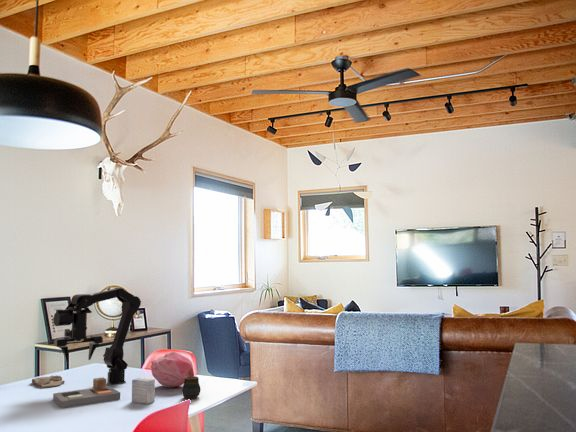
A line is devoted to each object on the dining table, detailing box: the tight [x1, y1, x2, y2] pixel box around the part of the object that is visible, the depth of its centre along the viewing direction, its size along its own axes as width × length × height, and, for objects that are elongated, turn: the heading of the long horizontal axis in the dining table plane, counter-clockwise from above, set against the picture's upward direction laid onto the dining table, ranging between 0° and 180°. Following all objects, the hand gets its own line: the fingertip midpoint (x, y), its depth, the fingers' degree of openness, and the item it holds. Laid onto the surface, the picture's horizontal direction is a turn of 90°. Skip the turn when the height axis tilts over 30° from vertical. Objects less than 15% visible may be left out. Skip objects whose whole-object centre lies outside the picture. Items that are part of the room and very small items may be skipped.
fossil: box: [31, 375, 65, 389], centre depth 237 cm, size 11×15×4 cm
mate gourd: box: [181, 371, 202, 400], centre depth 215 cm, size 7×8×10 cm
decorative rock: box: [150, 351, 195, 389], centre depth 233 cm, size 19×14×15 cm
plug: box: [92, 376, 107, 393], centre depth 216 cm, size 4×4×7 cm
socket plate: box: [52, 385, 121, 409], centre depth 211 cm, size 22×14×3 cm, turn 126°
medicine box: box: [131, 377, 156, 405], centre depth 208 cm, size 8×4×9 cm, turn 65°
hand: (78, 361), depth 227 cm, fingers open, 9 cm apart
